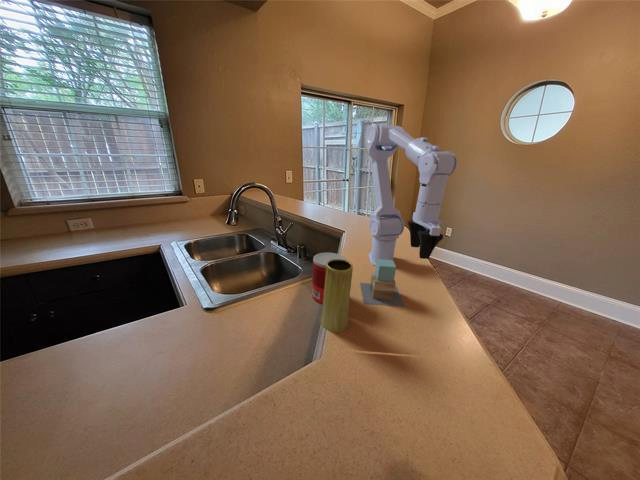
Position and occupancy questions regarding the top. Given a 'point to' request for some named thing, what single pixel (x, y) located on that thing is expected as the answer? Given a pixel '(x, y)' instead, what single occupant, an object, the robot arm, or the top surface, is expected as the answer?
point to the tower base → (381, 294)
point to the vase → (336, 295)
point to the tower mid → (382, 284)
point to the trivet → (369, 300)
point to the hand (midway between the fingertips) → (419, 252)
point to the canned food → (321, 274)
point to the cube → (385, 270)
